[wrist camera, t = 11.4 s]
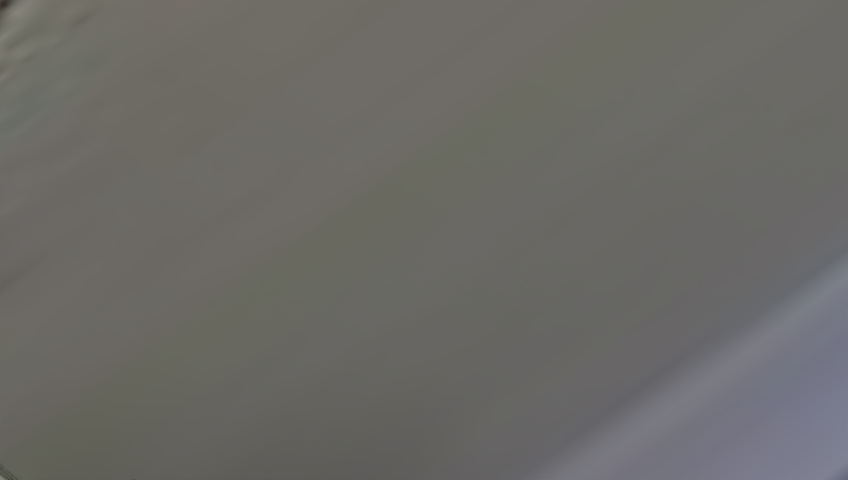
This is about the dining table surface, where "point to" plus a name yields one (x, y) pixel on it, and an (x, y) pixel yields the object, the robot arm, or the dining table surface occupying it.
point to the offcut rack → (5, 474)
